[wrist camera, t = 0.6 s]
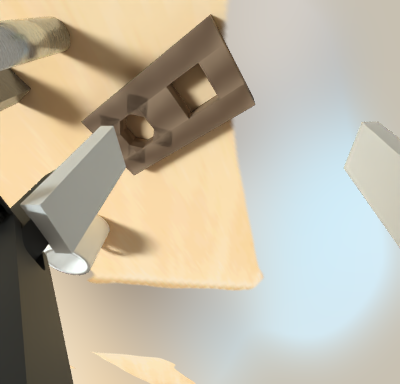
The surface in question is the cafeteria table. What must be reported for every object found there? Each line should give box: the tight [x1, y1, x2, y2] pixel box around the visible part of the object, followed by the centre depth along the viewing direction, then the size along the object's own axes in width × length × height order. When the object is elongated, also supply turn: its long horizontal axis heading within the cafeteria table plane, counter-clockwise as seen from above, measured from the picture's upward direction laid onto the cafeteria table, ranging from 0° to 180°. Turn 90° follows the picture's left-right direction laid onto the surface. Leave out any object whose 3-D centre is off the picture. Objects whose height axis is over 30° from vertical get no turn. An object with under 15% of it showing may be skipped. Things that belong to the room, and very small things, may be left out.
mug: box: [44, 214, 110, 275], centre depth 54 cm, size 14×10×11 cm
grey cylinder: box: [0, 17, 70, 71], centre depth 27 cm, size 4×4×13 cm
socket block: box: [81, 15, 255, 175], centre depth 36 cm, size 12×24×3 cm, turn 124°
